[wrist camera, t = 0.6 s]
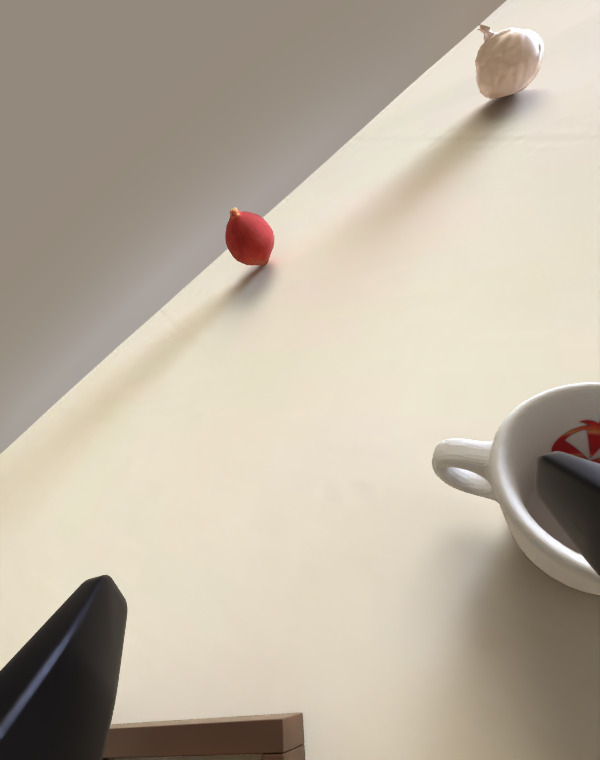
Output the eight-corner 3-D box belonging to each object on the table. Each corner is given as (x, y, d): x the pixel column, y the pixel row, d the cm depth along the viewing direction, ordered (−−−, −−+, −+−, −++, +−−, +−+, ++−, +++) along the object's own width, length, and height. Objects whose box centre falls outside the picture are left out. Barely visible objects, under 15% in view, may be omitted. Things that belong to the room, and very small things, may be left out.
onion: (237, 273, 48) (201, 222, 43) (266, 245, 50) (235, 191, 44) (262, 284, 45) (226, 228, 39) (293, 252, 46) (262, 194, 40)
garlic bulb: (505, 79, 48) (505, 0, 42) (552, 77, 44) (559, -11, 38) (468, 109, 48) (463, 33, 42) (511, 110, 43) (513, 26, 37)
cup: (427, 552, 21) (399, 514, 15) (457, 432, 24) (443, 363, 19) (688, 651, 15) (803, 650, 9) (682, 475, 18) (765, 393, 13)
